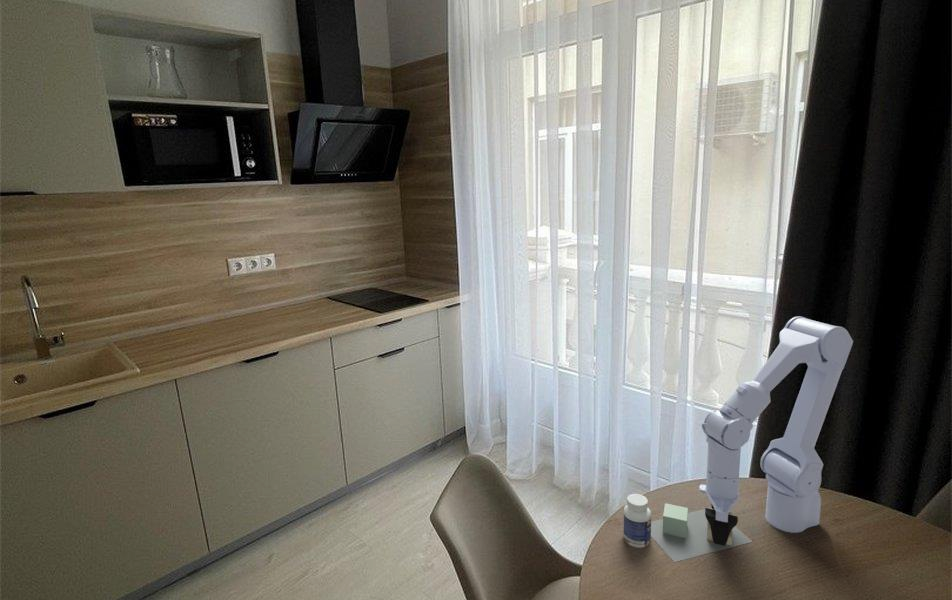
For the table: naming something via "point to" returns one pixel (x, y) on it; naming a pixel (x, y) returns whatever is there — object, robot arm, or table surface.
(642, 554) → the table surface
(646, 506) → the pill bottle
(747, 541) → the board
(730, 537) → the birch block
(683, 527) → the sage block
